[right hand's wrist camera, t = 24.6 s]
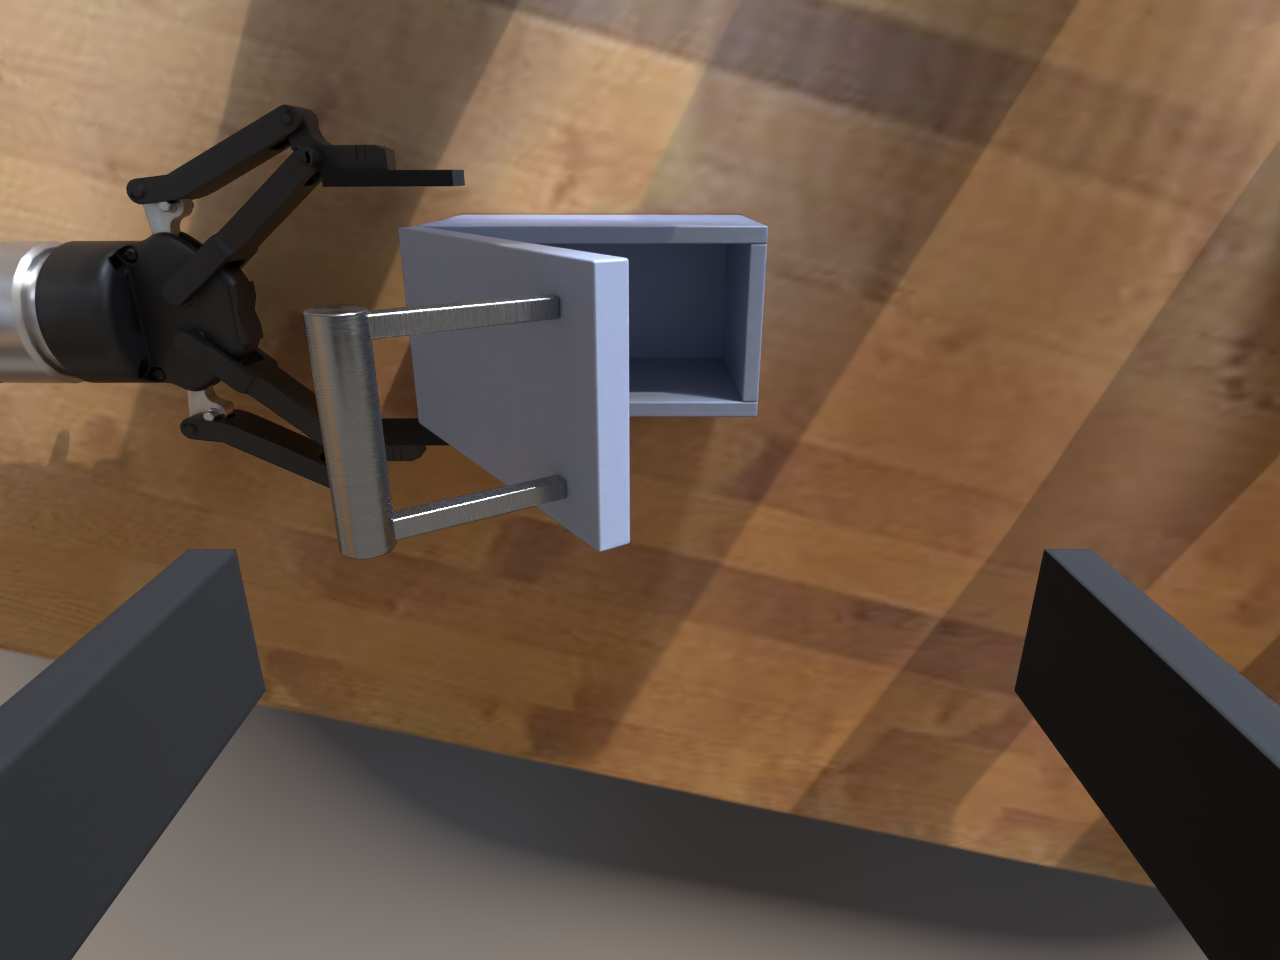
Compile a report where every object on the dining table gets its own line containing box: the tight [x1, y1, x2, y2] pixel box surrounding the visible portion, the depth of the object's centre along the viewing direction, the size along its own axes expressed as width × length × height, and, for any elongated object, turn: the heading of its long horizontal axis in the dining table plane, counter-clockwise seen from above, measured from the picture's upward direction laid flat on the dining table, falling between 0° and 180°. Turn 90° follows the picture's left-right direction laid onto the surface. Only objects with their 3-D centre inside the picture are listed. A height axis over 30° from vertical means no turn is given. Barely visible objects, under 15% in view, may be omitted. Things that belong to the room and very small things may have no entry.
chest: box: [416, 214, 768, 417], centre depth 43 cm, size 16×9×11 cm, turn 90°
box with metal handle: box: [303, 226, 630, 559], centre depth 29 cm, size 17×9×9 cm
